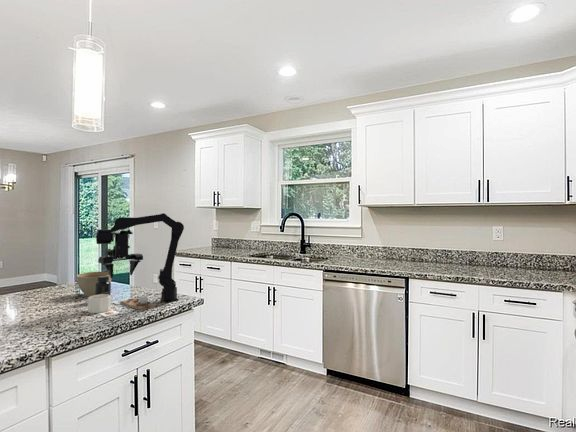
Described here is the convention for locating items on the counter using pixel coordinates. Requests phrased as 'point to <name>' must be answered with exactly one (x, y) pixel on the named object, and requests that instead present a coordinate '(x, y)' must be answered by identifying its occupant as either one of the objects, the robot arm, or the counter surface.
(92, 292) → the planter bowl
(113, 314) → the tile
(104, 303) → the cup
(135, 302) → the stand
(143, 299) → the ball grey
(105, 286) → the supplement bottle
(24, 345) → the counter surface
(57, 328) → the counter surface
